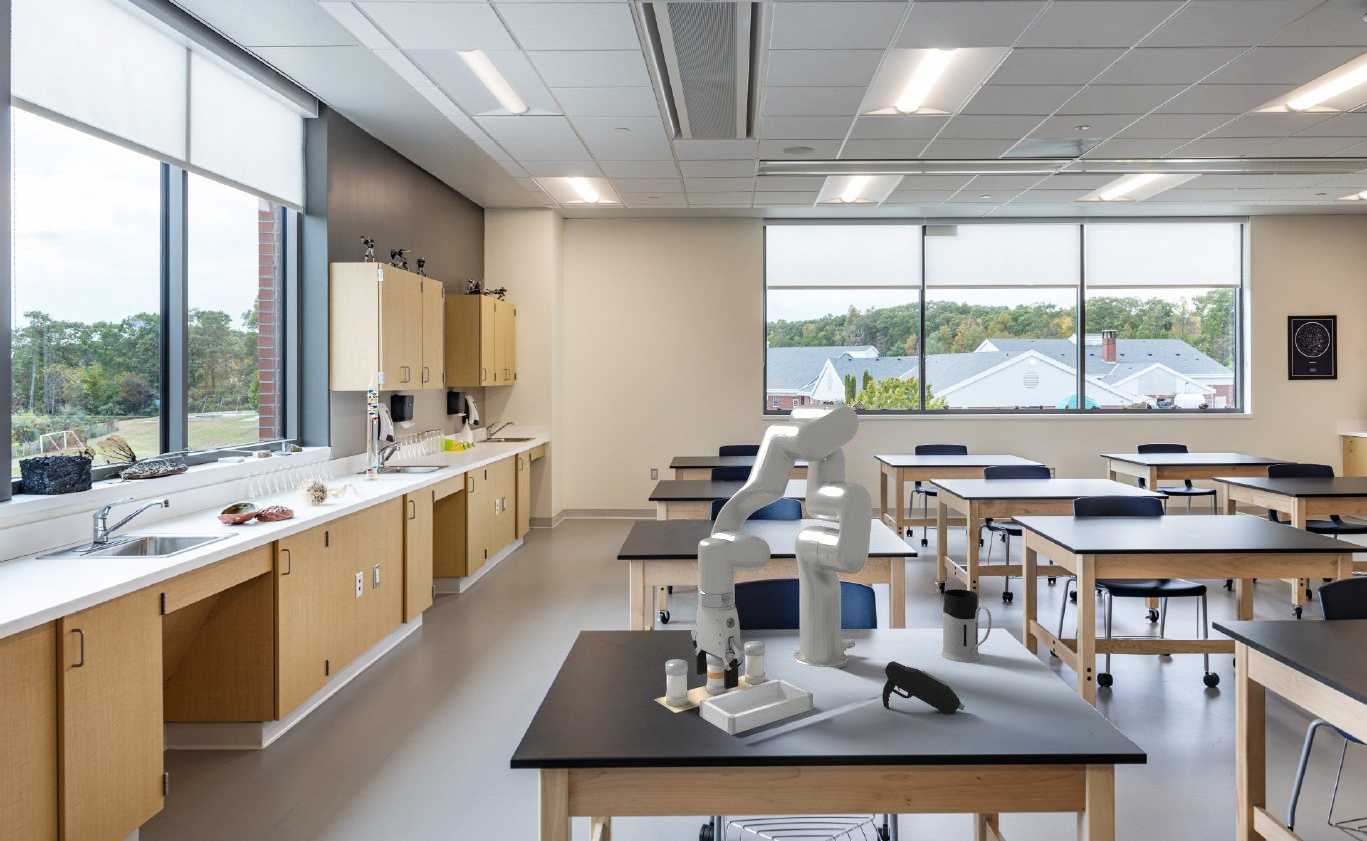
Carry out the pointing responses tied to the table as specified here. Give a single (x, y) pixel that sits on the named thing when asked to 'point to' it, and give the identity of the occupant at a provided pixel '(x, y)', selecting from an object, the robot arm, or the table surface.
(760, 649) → the cylinder
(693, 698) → the board
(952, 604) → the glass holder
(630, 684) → the table surface
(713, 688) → the marked fuse
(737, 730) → the tray
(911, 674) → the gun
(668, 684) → the fuse
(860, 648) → the table surface
